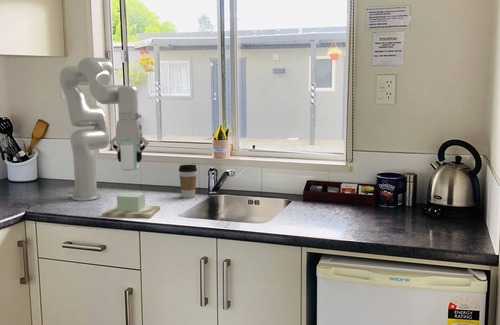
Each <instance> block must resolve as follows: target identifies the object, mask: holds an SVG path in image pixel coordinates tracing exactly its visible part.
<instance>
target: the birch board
mask: <svg viewBox="0 0 500 325" xmlns="http://www.w3.org/2000/svg"><path fill="white" fill-rule="evenodd" d="M159 211H161V206H160V205H145V208H144V209H142V210H141V211H139V212H130V211H118V209H117V204H113V205H112V206H110V207H109V208H107V209H105V210H103V212H101V217H103V218H104V217H105V218H132V219H134V218H135V219H136V218H137V219H138V218H139V219H141V218H142V219H151V218H152V217H154V214H155V213H156V214H157V213H158V212H159ZM156 214H155V215H156Z"/></svg>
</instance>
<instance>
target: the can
mask: <svg viewBox="0 0 500 325" xmlns="http://www.w3.org/2000/svg"><path fill="white" fill-rule="evenodd" d="M120 150H121V162H120V168H121V169H122V170H123V171H137V170H138V169H139V168H140V162H137V152H138V151H137V149H136V146H135V144H134V143H132V141H123V142H122V143H121V145H120Z"/></svg>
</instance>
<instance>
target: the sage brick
mask: <svg viewBox="0 0 500 325" xmlns="http://www.w3.org/2000/svg"><path fill="white" fill-rule="evenodd" d="M145 195H146V194H145V193H141V192H140V193H139V192H138V193H137V192H123V193H120V194H119V195H117V196H116V203H117V204H116V205H117V209H118V211H130V212H139V211H141V210H142V209H144V208H145V206H146V198H145V197H146V196H145Z"/></svg>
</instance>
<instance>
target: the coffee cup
mask: <svg viewBox="0 0 500 325" xmlns="http://www.w3.org/2000/svg"><path fill="white" fill-rule="evenodd" d="M197 171H198V169H197V165H196V164H181V165H179V168H178V172H179V181H180V183H179V184H180V191H181V197H182V198H183V199H193V198H195V197H196V185H197Z"/></svg>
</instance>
